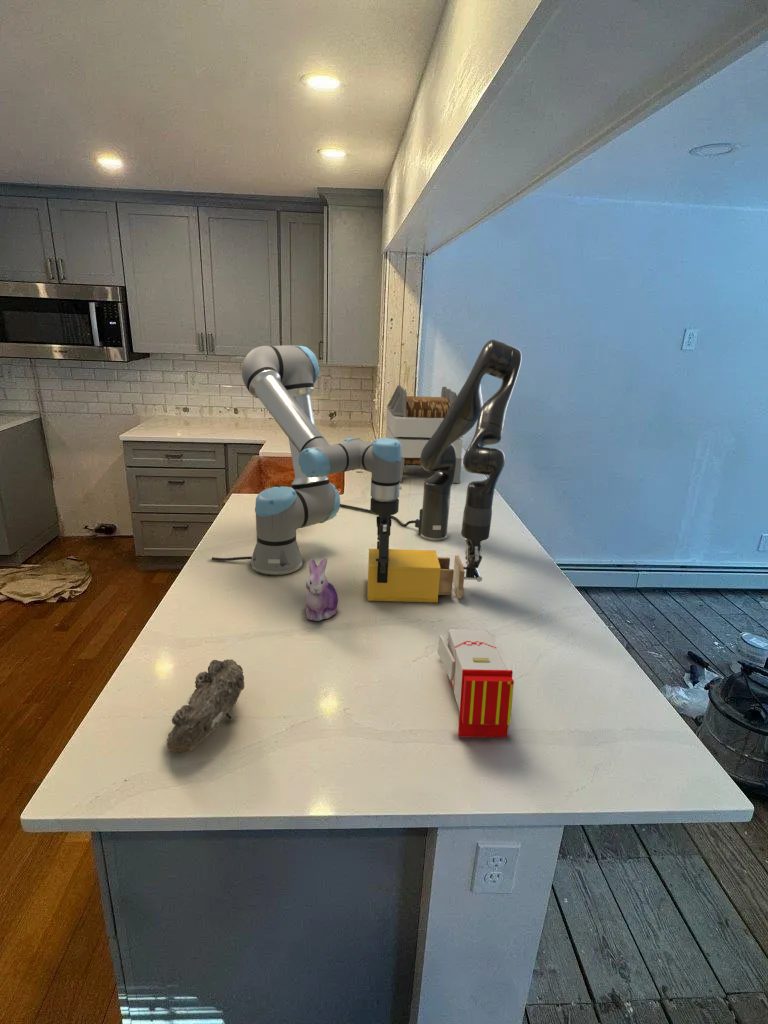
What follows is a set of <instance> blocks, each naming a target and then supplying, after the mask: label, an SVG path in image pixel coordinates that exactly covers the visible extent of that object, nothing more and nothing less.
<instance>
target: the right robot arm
mask: <svg viewBox="0 0 768 1024" xmlns="http://www.w3.org/2000/svg"><path fill="white" fill-rule="evenodd" d="M522 355H523V354H522V351H521V350H520V349H519V348H517V347H515V346H512V345H510V344H507V343H505V342H502V341H499V340H496V339H489V340H487V342H486V343H485V344H484V345H483V347H482V348H481V350H480V352H479V354H478V356H477V358H476V360H475V362H474V364H473V366H472V368H471V370H470V373H469V375H468V376H467V378H466V380H465V383H463V386H462V387H461V388H460V390H459V392H458V394H456V395H457V397H456V398H455V400H454V401H453V403H452V405H451V407H450V408H449V410H448V412H447V414H446V416H445V417H444V419H443V421H442V422H441V424H440V425H439V427H438V429H437V430H436V432H435V433H434V434H433V436H432V437H431V438H430V440H429V441H428V442H427V443H426V445H425V446H424V448H423V450H422V452H421V457H420V462H421V466H420V467H422V469H423V470H424V471H427V472H434V473H433V474H432V475H431V476H429V477H428V478H426V479H425V480H424V482H423V493H422V496H423V497H422V506H421V508H420V509H419V516H418V518H416V519H415V520H407V522H405V523H402V521H401V520H400V519H399V518H397V517H396V516H394V515H390V516H389V517H391V520H394V521H396V522H397V523H398V525H399V526H401V527H404V528H406V527H407V526H409V525H411V524H414V527H415V528H418V530H417V535H418V536H420V538H421V539H424V540H426V541H432V542H440V541H444V540H446V539H447V538H448V525H449V517H450V516H449V514H450V504H451V494H452V493H451V491H452V486H453V484H454V483H453V481H454V474H455V467H456V450H455V448H454V446H453V445H452V443H453V442H455V441H456V440H458V439H459V438H460V439H462V438H461V437H462V436H463V437H464V436H465V435H467V433H469V432H470V431H471V430H472V428H474V426H475V424H476V426H475V432H474V435H473V437H472V439H471V441H470V444H469V445H468V447H467V449H466V450H465V453H464V455H463V459H462V465H463V468H464V470H465V471H466V472H467V473H469V474H470V473H471V474H476V475H485V476H488V477H487V478H486V479H483V480H474V481H470V482H469V483H468V485H467V487H466V488H467V489H466V497H465V504H464V508H463V514H462V521H461V522H462V524H461V531H460V532H461V533H460V534H461V536H462V537H463V538H464V539H465V541H464V543H465V544H464V545H465V557H464V559H465V564H466V567H467V568H466V569H465V577H475V568H478V569H479V567H480V564H481V562H482V560H483V556H482V555H481V554H482V553H481V552H482V551H483V545H482V544H481V543H482V542H483V541H486V540H488V539H489V538H490V532H491V524H492V517H493V502H494V494H495V491H496V490H495V489H496V486H497V483H498V481H499V478H500V476H501V474H502V471H503V470H504V467H505V464H506V456H505V453H504V451H503V450H502V449H501V448H495V447H485V446H493V445H497V444H499V443H500V442H501V440H502V437H503V432H504V427H505V420H506V414H507V410H508V406H509V402H510V400H511V397H512V395H513V392H514V388H515V385H516V382H517V379H518V375H519V372H520V368H521V366H522V361H523V360H522V357H523V356H522ZM485 375H489V376H490V377H494V378H497V379H500V380H501V384H500V387H499V388H498V390H497V391H495V393H494V394H492V395H491V397H489V398H488V399H487V400H486V401H485V402H484V401H483V394H482V379H483V377H485ZM274 487H281V486H280V485H278V484H274ZM340 507H342V508H345V509H352V510H356V511H362V512H366V513H370V514H373V513H372V512H371V510H370V509H367V508H363V507H359V506H354V505H348V504H342V503H340Z"/></svg>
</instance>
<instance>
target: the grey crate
mask: <svg viewBox="0 0 768 1024" xmlns="http://www.w3.org/2000/svg"><path fill="white" fill-rule="evenodd" d="M440 393H441V394H440V396H415V395H414V396H413V395H412V396H411V395H407V394H408V393H407V390H406V389H404V388H403V387H402V385H399V384H398V385H397V386H396V388H395V390H394V392H393V394H392V395H391V398H390V400H389V402H388V404H387V405H386V413H385V414H386V415H385V423H386V428H385V438H389V439H396V440H398V441H399V442H400V443H401V454H402V459H401V470H400V483H402V482H403V475H404V469H405V466H406V467H407V466H411V467H412V466H413V467H415V466H416V467H417V466H418V467H422V466H421V462H420V457H421V452H422V450H423V448H424V446H425V445H426V443H427V442H428V441H429V440H430V438H431V437H432V436H433V434H434V433H435V432H436V430H437V429H438V427H439V425H440V424H441V422H442V421H443V419H444V417H445V416H446V414H447V412H448V410H449V408H450V407H451V405H452V403H453V401H454V400H455V398H456V397H457V395H458V394H457V392H455V391H453V390H452V389H451V388H447V386H442V387H441V392H440ZM463 438H464V435H463V436H462V437H461V438H459V439H458V440H456V441H455V442H453V443H452V445H453V446H454V448H455V450H456V467H455V474H454V481H453V484H455V483H456V484H459V483H461V472H462V463H463V459H462V453H463V442H464V441H463V440H462V439H463Z"/></svg>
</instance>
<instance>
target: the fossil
mask: <svg viewBox="0 0 768 1024" xmlns="http://www.w3.org/2000/svg"><path fill="white" fill-rule="evenodd" d="M243 670H244V669H243V667H242V665H240V664H237V662H236V661H235V660H234V659H232V658H231V659H227V658H226V659H224V660H223V661H222V660H217V659H212V660H211V661H210V663H209V665H208V666H207V671H201V672H199V673H198V674H197V675H196V676H195V680H194V684H195V685H194V687H195V689H194V690H193V693H192V694H191V697H190V698H189V700H188V704H184V705H182V706H181V707H180V709H177V710H176V711H175V713H174V715H173V716H172V718H171V723H172V724H173V727H172V730H171V731H170V732H168V734H167V738H166V741H167V742H166V745H167V749H168V750H169V751H173V752H174V753H176V754H178V753H182V752H188V751H189V752H192V751H193V750H195V748H196V747H197V746H199V744H200V743H201V742H203V741H204V740H205V739H206V738H207V737H208V736H209V735H210V734H211V733H212V732H214V730H215V729H217V727H218V726H219V724H220V722H221V721H222V720H223V719H224V718H225V716H226V717H227V719H229V720H233V717H232V715H230V714H229V710H230V709H231V708H234V706H235V704H236V703H237V702H238V699H239V697H240V695H241V693H242V691H243V690H245V689H244V688H245V675H244V671H243Z"/></svg>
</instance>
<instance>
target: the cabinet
mask: <svg viewBox="0 0 768 1024" xmlns="http://www.w3.org/2000/svg"><path fill="white" fill-rule="evenodd" d="M367 558H368V559H367V560H368V561H367V562H368V563H367V601H370V602H373V601H374V602H404V603H405V602H407V603H438V601H439V595H438V592H439V581H440V569H441V568H440V564H439V560H438V554H437V550H433V549H432V550H431V549H430V550H429V549H401V548H397V549H395V548H389V562H388V577H387V583H377V571H378V561H376V559H378V558H379V549H377V548H368V557H367Z"/></svg>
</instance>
